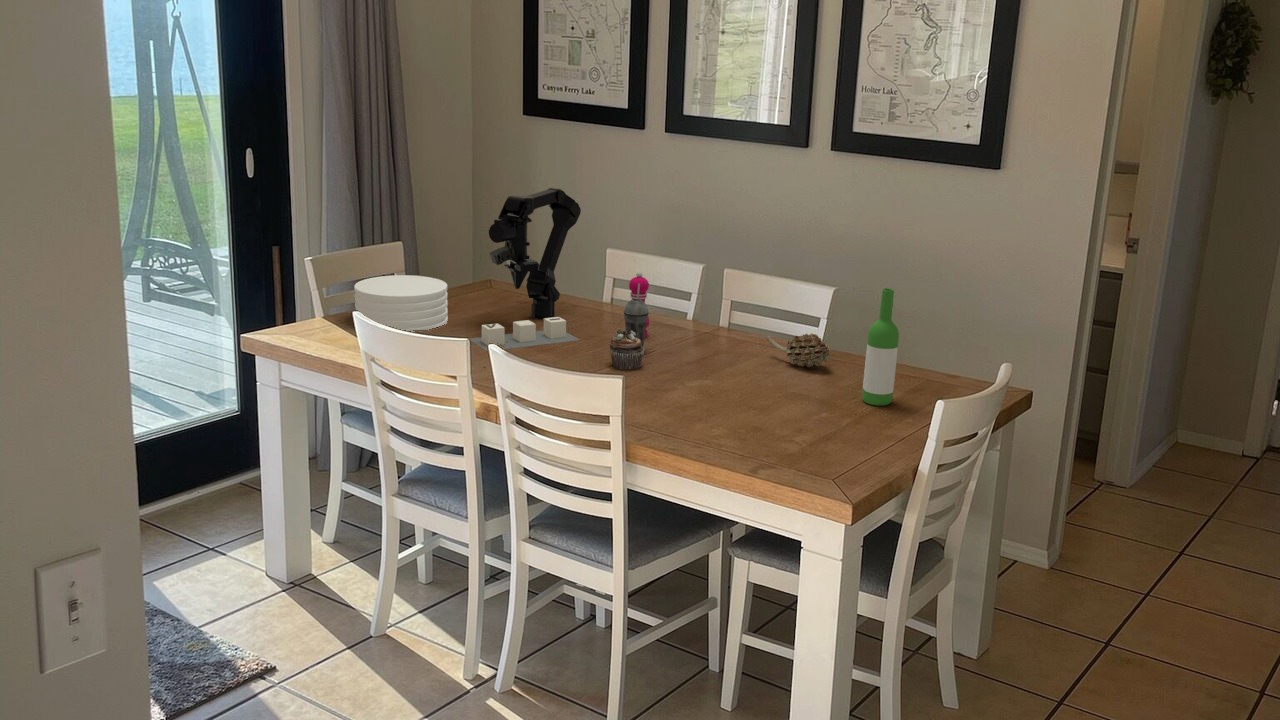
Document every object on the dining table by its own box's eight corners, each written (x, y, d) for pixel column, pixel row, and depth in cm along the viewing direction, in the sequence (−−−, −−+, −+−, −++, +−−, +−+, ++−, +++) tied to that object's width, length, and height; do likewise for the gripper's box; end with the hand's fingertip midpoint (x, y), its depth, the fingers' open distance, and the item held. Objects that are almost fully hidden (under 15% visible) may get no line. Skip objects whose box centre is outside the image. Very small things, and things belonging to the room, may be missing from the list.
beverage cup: (617, 352, 334) (619, 284, 329) (629, 346, 341) (632, 280, 335) (639, 356, 331) (642, 288, 325) (651, 350, 337) (654, 283, 332)
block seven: (497, 339, 340) (497, 322, 338) (504, 344, 336) (504, 327, 334) (481, 341, 337) (481, 324, 336) (488, 346, 333) (488, 328, 332)
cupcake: (614, 371, 317) (615, 336, 314) (605, 361, 326) (606, 326, 323) (647, 369, 319) (649, 335, 316) (638, 359, 328) (639, 325, 325)
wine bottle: (887, 397, 304) (899, 286, 295) (895, 407, 296) (907, 293, 288) (858, 396, 304) (869, 285, 295) (865, 406, 296) (876, 292, 287)
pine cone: (836, 369, 327) (839, 335, 324) (818, 376, 320) (821, 341, 317) (771, 352, 340) (773, 320, 337) (752, 359, 333) (755, 325, 330)
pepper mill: (649, 333, 355) (652, 270, 349) (647, 340, 348) (650, 275, 342) (626, 332, 356) (628, 268, 350) (623, 338, 349) (626, 273, 343)
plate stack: (438, 335, 345) (437, 298, 341) (345, 331, 345) (343, 293, 342) (455, 312, 372) (454, 277, 368) (368, 308, 372) (367, 273, 369)
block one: (558, 332, 350) (558, 316, 348) (565, 336, 346) (566, 320, 344) (543, 334, 347) (543, 317, 346) (550, 338, 343) (551, 321, 342)
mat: (559, 330, 355) (559, 328, 355) (580, 341, 343) (580, 339, 343) (467, 340, 340) (467, 338, 340) (486, 353, 328) (486, 351, 328)
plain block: (528, 336, 345) (528, 320, 343) (535, 340, 341) (535, 324, 339) (513, 338, 342) (513, 321, 341) (520, 342, 338) (520, 325, 337)
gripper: (480, 234, 353) (480, 284, 357) (505, 245, 337) (505, 297, 342) (514, 232, 358) (513, 281, 363) (540, 243, 343) (539, 294, 347)
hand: (517, 288), depth 354 cm, fingers closed
